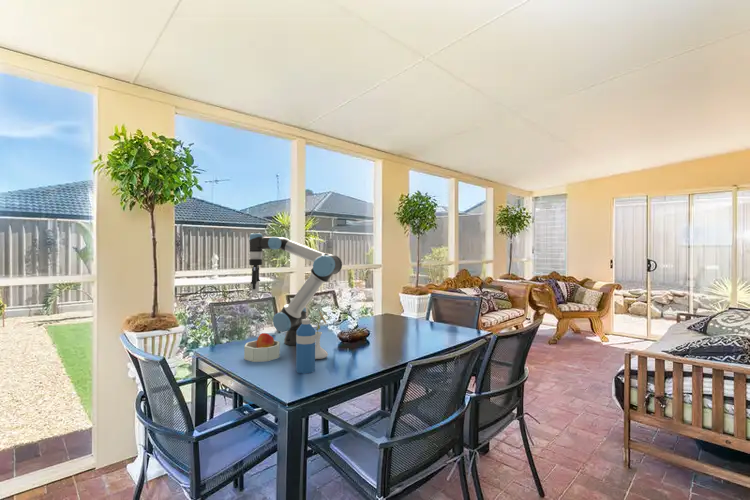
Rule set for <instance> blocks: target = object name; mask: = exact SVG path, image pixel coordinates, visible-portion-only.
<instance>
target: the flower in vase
mask: <svg viewBox="0 0 750 500" xmlns="http://www.w3.org/2000/svg"><path fill="white" fill-rule="evenodd" d="M318 314H319V316H320V319H319V321H318V323H317V327H316V328H315V360H322V359H325V358H327V357H328V355H329V354H328V352H327V351H326V350H325V348H323V347H321V341H320V340H321V336H322V334H323V332H322V331H319V330H320V329H321V326H320V325H319V324H320V322H321V320H322V321H323V322H324V324H325V325H326V324H327V320H326V318H325V317H324V316H323V313H322V311H319V313H318Z"/></svg>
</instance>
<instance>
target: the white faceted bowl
mask: <svg viewBox="0 0 750 500" xmlns="http://www.w3.org/2000/svg"><path fill="white" fill-rule="evenodd" d="M280 348H281V343H280V341H278V340H275V339H274V346H271V347H268V348H257V339H256V340H252V341H248V342H246V343H245V345H244V348H243V349H244V350H243V351H244V353H243V356H244V357H243V359H244V360H245V361H249V362H253V363H259V362H262V363H263V362H269V361H273V360H276V359H279V358H280V356H281V353H280V351H281V349H280Z"/></svg>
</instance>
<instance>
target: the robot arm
mask: <svg viewBox="0 0 750 500" xmlns="http://www.w3.org/2000/svg"><path fill="white" fill-rule="evenodd" d="M263 250H280V251H284V252H286V253H289V254H292V255H294V256H296V257H299V258H302V259H303V260H306V261H309V262H312V267H311V269H310V275H309V276H308V278H307V279H306V280H305V282H303V284H302V286H301V287H300V288H299V290H298V292H297V293H296V294H295V296H294V297H293V299H292V300H291V301H290V302H289V303H288V304H285V305H284V306H283V307H282V309H281V310H280V311H279V312H277V313H275V315H273V318H272V323H273V324H272V325H273V326H274V328H275V329H276V330H277V331H278V332H280V333H284V332H286V334H285V336H284V340H283V341H284V342H283V343H284V345H287V346H296V331H297V329H298V328H299V327H300V325H301V324H302V319H307V308H306V306H307V305H308V304H309V302H310V301H311V300H312V298H313V297H314V296H315V294H316V293H317V292H318V291H319V289H320V287H321V286H322V285H323V283H327V282H329V280H330V278H331V277H332V276H333V275H336V274H339V273H340V272H341V270H342V267H343V262H342V259H341V258H340V257H339V256H338V255H336V254H331V253H328V252H325V253H324V252H321V251H319V250H316V249H313V248H311V247H309V246H306V245H303V244H301V243H299V242H295V241H292V240H290V239H289V238H287V237H284V236H281V237H278V236H263V234H262V233H253V232H252V233H250V234H249V252H248V256H249V259H248V261H249V263H248V264H249V266H252V267H251V282H250V285H251V295H252V296H257V293H259V292H260V282H261V279H260V266H262V265H263Z"/></svg>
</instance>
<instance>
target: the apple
mask: <svg viewBox="0 0 750 500" xmlns="http://www.w3.org/2000/svg"><path fill="white" fill-rule="evenodd" d="M256 340H257V348H268V347H271V346H274V340H275V339H274V336H272V335H270V334H268V333H266V332H262V333H261V334H260V335H258V337H257V339H256Z"/></svg>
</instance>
